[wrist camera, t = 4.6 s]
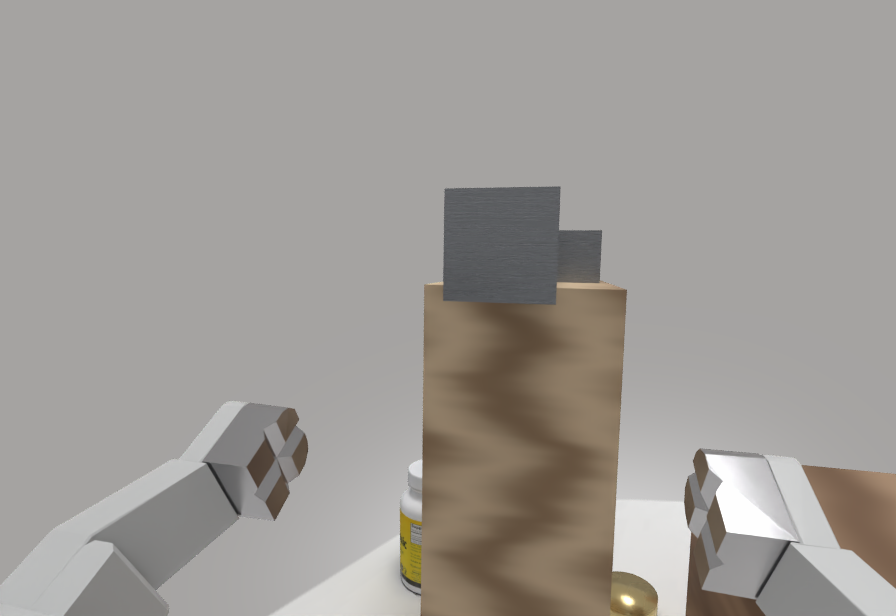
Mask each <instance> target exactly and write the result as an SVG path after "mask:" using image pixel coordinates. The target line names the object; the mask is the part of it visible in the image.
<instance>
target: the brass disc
mask: <svg viewBox="0 0 896 616" xmlns="http://www.w3.org/2000/svg"><path fill="white" fill-rule="evenodd" d="M657 603H658V595H657V592H656V591H655V589H654V588H653V586H652V585H651V584H649V583H648V582H647V581H645V580H644V579H642V578H640V577H638V576H636V575H633V574H630V573H626V572H612V584H611V603H610V616H657Z"/></svg>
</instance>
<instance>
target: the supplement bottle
mask: <svg viewBox="0 0 896 616" xmlns="http://www.w3.org/2000/svg"><path fill="white" fill-rule="evenodd" d="M408 485H409V488H408V489H406V490H405V492H404V493H403V495H402V497H401V501H400V571H401V578H402V581H403V583H404V584H405V586H406V587H407V588H409V589H410V590H411V591H413V592H416V593H419V594H421V547H422V460H419V461H416V462H414V463H412V464H411V465H410V466H409V469H408Z"/></svg>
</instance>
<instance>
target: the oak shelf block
mask: <svg viewBox="0 0 896 616" xmlns="http://www.w3.org/2000/svg"><path fill="white" fill-rule="evenodd" d="M626 295H627V290H625V289H623V288H620V287H617V286H614V285H611V284H609V283H606V282H603V281H600V283H567V282H557V290H556V305H547V304H517V303H488V302H458V301H443V282H438V283H431V284H425V285H424V371H423V378H424V379H423V380H424V381H423V459H422V547H421V616H610V603H611V584H612V565H613V546H614V526H615V507H616V488H617V467H618V448H619V430H620V409H621V390H622V371H623V353H624V334H625V315H626Z"/></svg>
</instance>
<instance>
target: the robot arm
mask: <svg viewBox="0 0 896 616" xmlns="http://www.w3.org/2000/svg"><path fill="white" fill-rule="evenodd" d="M298 421H299V418H298V416H297V413H296V411H295V409H292V408H285V407H278V406H271V405H263V404H254V403H246V402H237V401H229V402H227V403H225V404H223V405H222V406H221V407H220V409H219V410H218V411H217V412H216V414H215V415H214V416H213V417H212V419H211V420H210V421H209V423H208V424H207V425H206V426H205V427H204V429H203V430H202V431H201V432H200V434H199V435H198V436H197V438H196V439H195V440H194V441H193V442H192V444H191V445H190V446H189V448H188V449H187V450H186V451H185V452H184V454H183V455H182V456H181V457H180V459H172V460H170V461H168V462H166V463H165V464H163V465H161V466H160V467H158V468H156V469H154V470H153V471H151V472H149V473H148V474H146V475H144V476H143V477H141V478H139V479H138V480H136V481H134V482H132V483H131V484H129V485H127V486H126V487H124V488H122V489H120V490H119V491H117V492H115V493H114V494H112V495H110V496H108V497H107V498H105V499H103V500H102V501H100V502H98V503H97V504H95V505H93V506H91V507H90V508H88V509H86V510H85V511H83V512H81V513H79V514H78V515H76V516H75V517H73V518H71V519H69V520H68V521H66V522H64V523H63V524H61V525H59V526H57V527H56V528H54V529H52V530H51V531H50V532H49V533H48V535H47V536H46V537H45V538H44V539H43V540H42V541H41V542H40V543H39V544H38V545H37V547H36V548H35V549H34V550H33V551H32V552H31V553H30V554H29V555H28V556H27V557H26V558H25V559H24V560H23V562H22V563H21V564H20V565H19V566H18V567H17V568H16V569H15V570H14V571H13V572H12V573H11V575H10V576H9V577H8V578H7V579H6V580H5V581H4V582H3V583H2V584H1V585H0V616H167V615H168V613H169V605H168V604H167V602H166V601H164V599H163V598H162V597H161V596H160V595H159V594H158V593H157V591H156V590H157V589H158V588H159V587H160V586H161V585H162V584H164V583H165V582H166V581H167V580H168V579H169V578H171V577H172V576H173V575H174V574H175V573H176V572H177V571H179V570H180V569H181V568H182V567H183V566H185V565H186V564H187V563H188V562H189V561H190V560H192V559H193V558H194V557H195V556H196V555H197V554H199V553H200V552H201V551H202V550H203V549H204V548H206V547H207V546H208V545H209V544H210V543H211V542H212V541H214V540H215V539H216V538H217V537H218V536H220V535H221V534H222V533H223V532H224V531H225V530H227V529H228V528H229V527H230V526H231V525H232V524H234V523H235V522H236V521H237V520H238V519H239V517H238V516H240V517H247V518H256V519H263V520H271V521H275V519H276V518H277V516H278V514H279V512H280V510H281V508H282V506H283V504H284V503H285V501H286V499H287V497H288V495H289V493H290V492H289V486H288V483H289V482H291V481H292V480H293V479H295V478H296V477H298V476H299V475H300V473H301V471H302V469H303V467H304V465H305V462H306V458H307V453H308V443H307V438H306V436H305V433H304V432H303V431H302V430H300V429H299V428H298V427H297V426H296V424H297V422H298ZM693 463H694V467H695V473H693V474H692V475H690V476H688V479H687V483H686V487H685V500H684V504H685V514H686V519H687V524H688V528H689V529H690V530H691V531H692V533H693V534H694V535H695V536H696V537H697V538H698V540H697V543H696V545H695V548H694V551H693V553H694V558H695V562H696V567H697V571H698V576H699V580H700V585H701V589H702V590H707V591H713V592H718V593H723V594H729V595H734V596H740V597H745V598H750V599H756V604H757V605H758V606H759V607H760V609H761V610H762V611H763V613H764V614H765V615H766V616H896V589H895V588H894V587H893V586H892V585H891V584H890V583H888V582H887V581H886V580H885V579H884V578H883V577H882V576H880V575H879V574H878V573H877V572H876V571H875V570H874V569H872V568H871V567H870V566H869V565H868V564H867V563H865V562H864V561H863V560H862V559H861V558H860V557H859V556H857V555H856V554H855V553H854V552H853V551H851V550H845V549H841V548H840V546H839V544H838V542H837V540H836V537H835V535H834V533H833V531H832V529H831V527H830V525H829V523H828V521H827V518H826V516H825V514H824V512H823V510H822V508H821V506H820V504H819V502H818V500H817V497H816V495H815V493H814V491H813V489H812V487H811V485H810V483H809V481H808V478H807V476H806V474H805V472H804V470H803V468H802V466H801V464H800V463H799V462H798V461H797V460H796V459H795V458H791V457H781V456H771V455H759V454H756V453H745V452H744V453H743V452H733V451H722V450H711V449H699V450H698V451H697V452H696V454H695V457H694V460H693Z"/></svg>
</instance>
